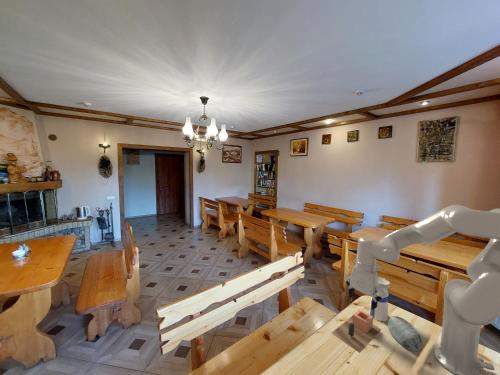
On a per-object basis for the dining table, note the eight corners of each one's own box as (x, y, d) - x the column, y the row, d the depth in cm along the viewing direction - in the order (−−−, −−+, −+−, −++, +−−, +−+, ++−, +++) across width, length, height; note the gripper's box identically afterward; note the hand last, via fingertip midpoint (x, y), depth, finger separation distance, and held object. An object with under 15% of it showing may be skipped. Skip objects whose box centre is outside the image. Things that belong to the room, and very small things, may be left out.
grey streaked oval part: (433, 350, 80) (418, 324, 82) (410, 360, 80) (395, 334, 82) (411, 332, 93) (398, 309, 95) (391, 340, 94) (379, 318, 96)
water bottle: (363, 313, 105) (366, 265, 103) (378, 311, 106) (381, 264, 104) (376, 325, 97) (379, 273, 95) (392, 323, 98) (396, 272, 96)
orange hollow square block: (358, 319, 99) (359, 309, 98) (372, 327, 94) (373, 316, 93) (352, 325, 95) (352, 314, 95) (366, 333, 90) (366, 322, 90)
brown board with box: (354, 317, 102) (355, 302, 102) (381, 332, 93) (382, 316, 92) (331, 336, 90) (331, 320, 90) (359, 356, 81) (360, 338, 80)
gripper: (342, 260, 97) (339, 295, 98) (383, 277, 83) (379, 317, 85) (350, 256, 101) (347, 290, 103) (391, 271, 87) (387, 310, 89)
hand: (362, 302), depth 94 cm, fingers open, 9 cm apart
